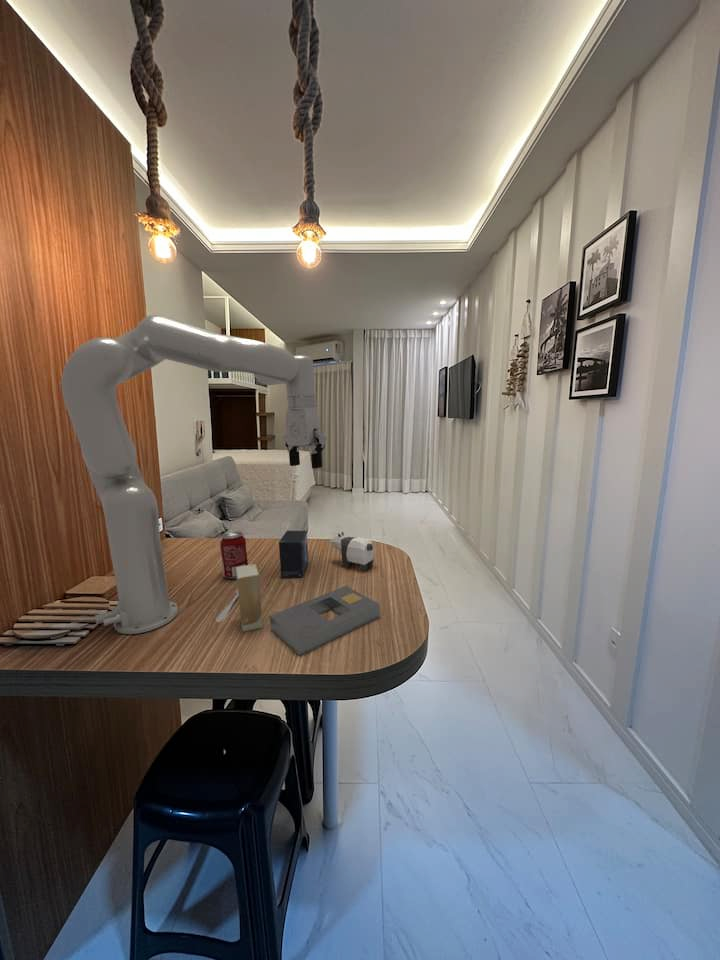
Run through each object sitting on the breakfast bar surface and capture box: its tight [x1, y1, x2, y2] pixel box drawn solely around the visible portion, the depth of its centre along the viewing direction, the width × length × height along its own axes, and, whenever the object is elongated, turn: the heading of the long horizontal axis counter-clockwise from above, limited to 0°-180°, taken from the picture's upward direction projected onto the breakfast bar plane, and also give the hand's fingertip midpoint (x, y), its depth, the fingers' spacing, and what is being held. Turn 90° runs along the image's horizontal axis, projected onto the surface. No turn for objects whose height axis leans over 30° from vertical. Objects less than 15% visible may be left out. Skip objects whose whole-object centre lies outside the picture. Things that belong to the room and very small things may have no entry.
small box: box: [278, 530, 309, 579], centre depth 108 cm, size 11×6×10 cm, turn 179°
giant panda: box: [329, 531, 375, 573], centre depth 110 cm, size 15×6×10 cm, turn 56°
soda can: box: [219, 531, 249, 580], centre depth 106 cm, size 7×7×12 cm
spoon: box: [215, 589, 239, 623], centre depth 90 cm, size 4×21×2 cm, turn 173°
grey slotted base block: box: [269, 585, 381, 656], centre depth 81 cm, size 20×12×3 cm, turn 129°
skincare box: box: [236, 563, 264, 632], centre depth 81 cm, size 6×4×12 cm
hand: (305, 466), depth 105 cm, fingers open, 9 cm apart
